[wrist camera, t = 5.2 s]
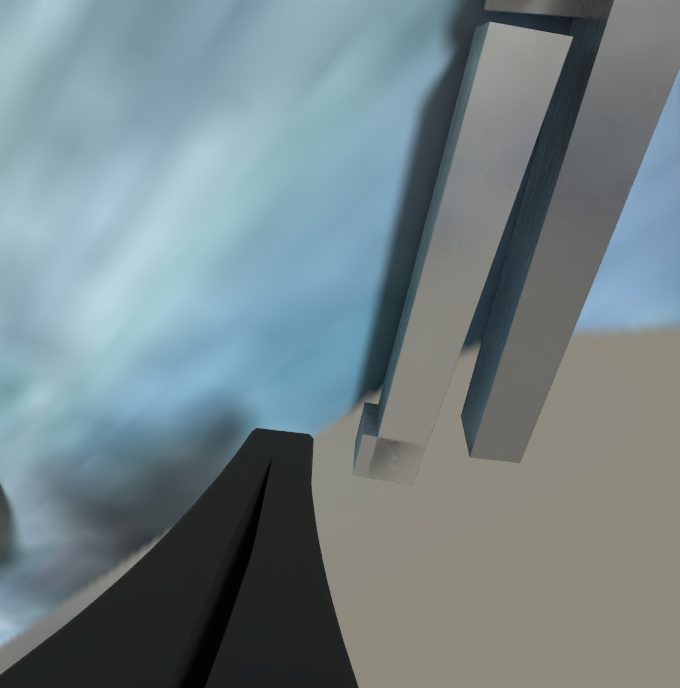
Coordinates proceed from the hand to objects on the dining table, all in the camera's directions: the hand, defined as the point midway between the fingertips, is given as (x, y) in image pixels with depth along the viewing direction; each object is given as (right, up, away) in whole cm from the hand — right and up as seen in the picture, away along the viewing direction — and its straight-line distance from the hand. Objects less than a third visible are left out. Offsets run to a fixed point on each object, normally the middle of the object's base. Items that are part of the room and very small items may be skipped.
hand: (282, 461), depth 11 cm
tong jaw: (+5, +5, +6) cm, 9 cm away
